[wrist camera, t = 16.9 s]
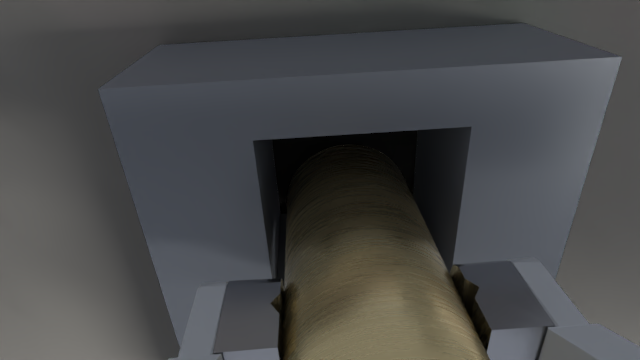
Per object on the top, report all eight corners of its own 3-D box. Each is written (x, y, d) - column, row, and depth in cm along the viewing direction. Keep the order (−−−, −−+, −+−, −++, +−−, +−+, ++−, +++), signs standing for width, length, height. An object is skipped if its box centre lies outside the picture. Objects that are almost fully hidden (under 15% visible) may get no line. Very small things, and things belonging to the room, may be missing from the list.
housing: (159, 44, 11) (97, 88, 8) (524, 23, 12) (622, 56, 8) (235, 375, 18) (220, 477, 15) (463, 358, 18) (502, 455, 15)
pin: (409, 140, 10) (635, 520, 4) (403, 242, 12) (552, 648, 5) (281, 149, 10) (253, 554, 3) (292, 250, 12) (288, 673, 5)
